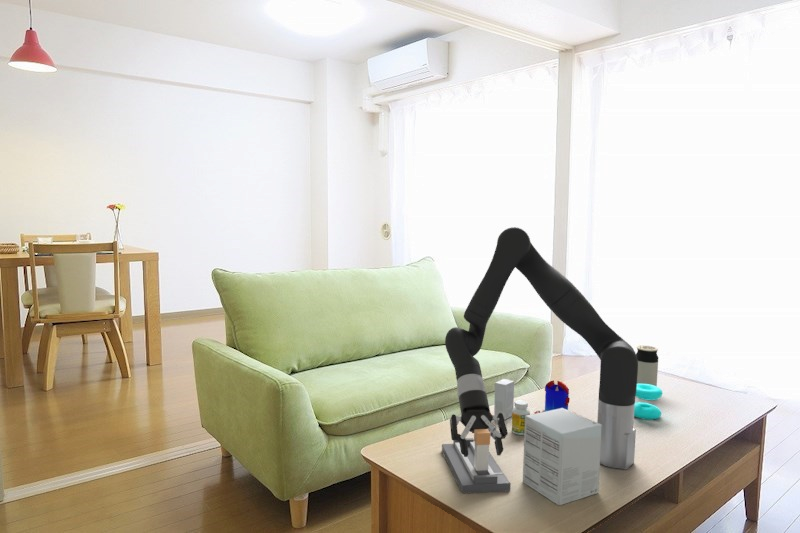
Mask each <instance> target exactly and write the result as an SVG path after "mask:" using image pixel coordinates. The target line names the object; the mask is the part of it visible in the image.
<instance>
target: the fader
mask: <svg viewBox="0 0 800 533" xmlns="http://www.w3.org/2000/svg"><path fill="white" fill-rule="evenodd" d="M473 439H474V442H475V452H474V467H475V471H476V473H477V475H487V470H488V464H489V452H490V445H491V436H490V432H489V431H488V429H474V433H473Z"/></svg>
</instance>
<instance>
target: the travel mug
mask: <svg viewBox="0 0 800 533" xmlns="http://www.w3.org/2000/svg"><path fill="white" fill-rule="evenodd" d="M636 349H637V352H635V353H636V356H637V359H638V376H637V384H650V385H654V386H656V387H658V371H659V370H658V368H659V355H658V351H659V348H658V347H656V346H652V345H637V346H636Z"/></svg>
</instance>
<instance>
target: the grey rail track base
mask: <svg viewBox="0 0 800 533" xmlns="http://www.w3.org/2000/svg"><path fill="white" fill-rule="evenodd" d="M465 440H466V441H467V448H468V456H467V457H464V455H462V453H461V449H460V443H459V442H458V441H456V440H455V441H453V440H452V441H453V443H442V444H441V451H442V454H443V457H444V458H445V460H446V462H447V464H448V467H449V469H450V471H451V473H452V475H453V477H454V479H455V481H456V483H457V485H458V487H459V490H460V492H461V494H477V493H478V494H479V493H493V492H494V493H496V492H497V493H498V492H510V491H511V481H510V480H509V479H508V477H507V475H506V474H505V473H504V470H502V469H501V467H500V465H499V464H498V463H497V461H496V459H495V458H494V456H493V455H492V454H491V452H490V451H489V464H488V470H487V475H477V473H476V471H475V467H474V452H475V442H474V437H469V438H468V437H466V438H465Z"/></svg>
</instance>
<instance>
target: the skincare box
mask: <svg viewBox="0 0 800 533" xmlns="http://www.w3.org/2000/svg"><path fill="white" fill-rule="evenodd" d="M514 397H515V381H514V380H511V379H508V378H507V379H506V378H502V379H501V380H497V381H496V382H494V404H493V405H494V408H493V409H494V412H493V415H498V414H499V413H502V414H503V417H504V421H506V420H507V419H509V418H512V410H513V408H514V407H515V406H514V405H515V401H514V400H515V399H514Z"/></svg>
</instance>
